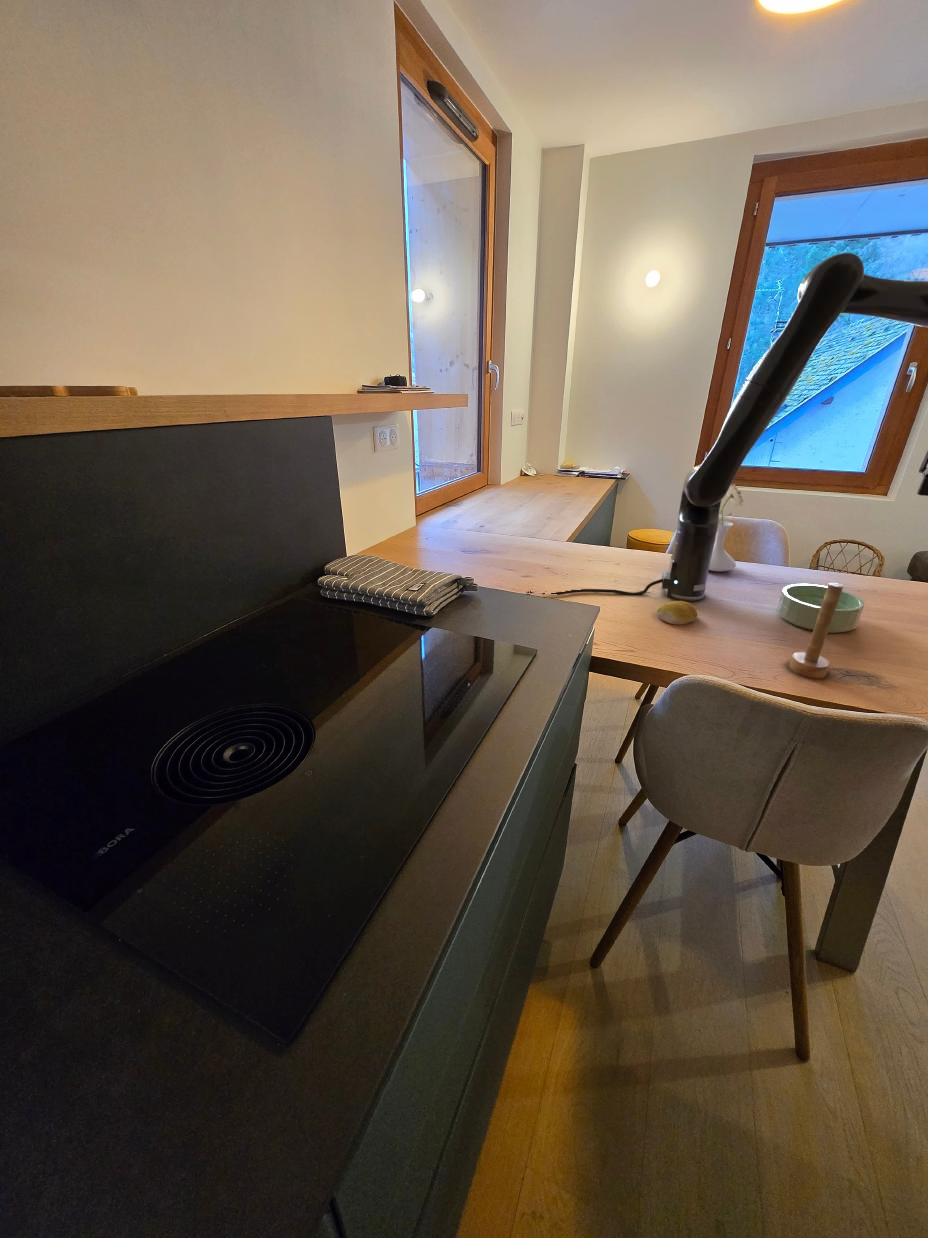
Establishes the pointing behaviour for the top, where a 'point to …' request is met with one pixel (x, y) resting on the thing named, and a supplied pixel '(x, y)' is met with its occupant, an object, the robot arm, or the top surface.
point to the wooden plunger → (818, 638)
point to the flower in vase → (719, 555)
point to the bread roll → (677, 612)
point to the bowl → (818, 607)
